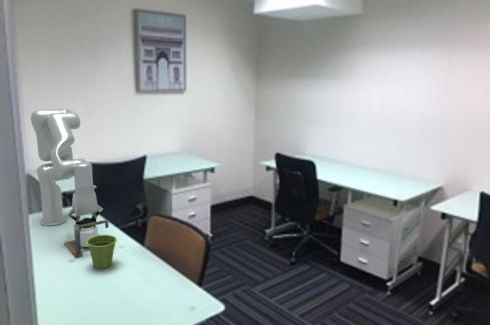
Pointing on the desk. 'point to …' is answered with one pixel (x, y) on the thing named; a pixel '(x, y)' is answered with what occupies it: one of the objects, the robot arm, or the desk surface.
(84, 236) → the medicine bottle
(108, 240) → the plant pot
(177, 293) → the desk surface
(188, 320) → the desk surface
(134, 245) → the desk surface
